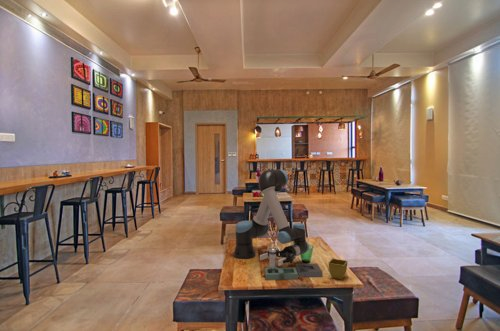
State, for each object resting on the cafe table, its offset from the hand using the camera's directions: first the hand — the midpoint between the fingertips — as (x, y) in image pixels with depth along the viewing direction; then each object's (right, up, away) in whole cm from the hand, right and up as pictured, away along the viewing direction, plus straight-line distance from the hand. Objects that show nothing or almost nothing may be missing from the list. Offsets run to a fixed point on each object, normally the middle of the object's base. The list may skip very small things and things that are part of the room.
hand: (269, 260), depth 170 cm
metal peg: (+2, -10, +3) cm, 11 cm away
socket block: (+24, -9, +7) cm, 27 cm away
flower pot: (+39, -10, -1) cm, 40 cm away
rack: (+7, -10, +3) cm, 12 cm away
